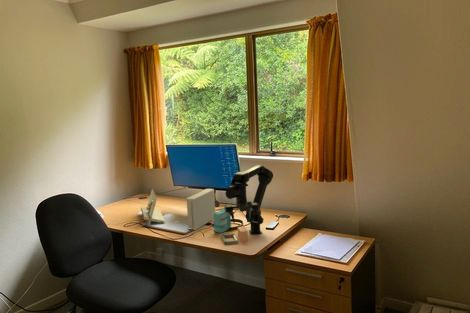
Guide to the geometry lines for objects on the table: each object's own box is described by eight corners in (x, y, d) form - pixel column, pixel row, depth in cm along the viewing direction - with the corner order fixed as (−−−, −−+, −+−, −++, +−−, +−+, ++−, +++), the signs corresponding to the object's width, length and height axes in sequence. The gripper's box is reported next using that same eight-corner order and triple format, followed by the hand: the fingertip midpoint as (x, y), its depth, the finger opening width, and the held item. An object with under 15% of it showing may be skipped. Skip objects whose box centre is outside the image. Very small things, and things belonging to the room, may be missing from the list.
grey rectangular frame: (221, 237, 213) (221, 234, 213) (234, 236, 214) (234, 233, 214) (224, 244, 202) (224, 242, 202) (238, 243, 203) (238, 240, 203)
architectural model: (133, 222, 236) (142, 191, 235) (131, 211, 263) (139, 182, 263) (164, 228, 243) (172, 197, 242) (159, 216, 270) (166, 188, 269)
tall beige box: (237, 237, 213) (237, 227, 212) (244, 236, 214) (244, 226, 213) (240, 241, 205) (240, 231, 204) (247, 241, 206) (247, 230, 205)
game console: (187, 229, 229) (185, 198, 226) (207, 216, 253) (206, 188, 251) (195, 230, 226) (193, 199, 224) (215, 217, 251) (214, 189, 248)
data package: (220, 233, 219) (219, 214, 218) (214, 232, 222) (213, 213, 220) (231, 227, 229) (230, 209, 228) (225, 226, 232) (224, 208, 230)
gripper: (227, 200, 196) (228, 228, 198) (261, 197, 200) (261, 225, 202) (223, 195, 207) (224, 222, 209) (255, 192, 211) (256, 219, 213)
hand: (242, 222), depth 208 cm, fingers open, 9 cm apart
